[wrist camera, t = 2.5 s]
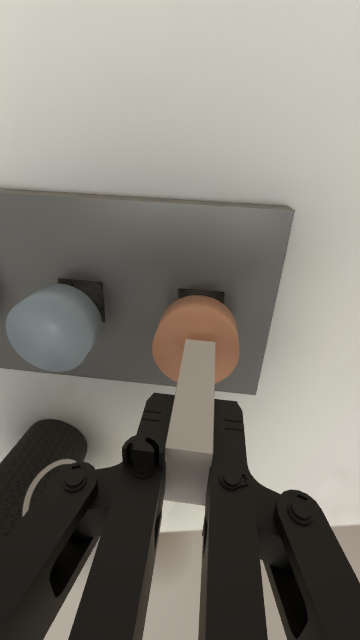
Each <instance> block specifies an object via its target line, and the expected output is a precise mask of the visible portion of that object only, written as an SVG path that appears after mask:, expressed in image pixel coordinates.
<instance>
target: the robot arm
mask: <svg viewBox="0 0 360 640" xmlns="http://www.w3.org/2000/svg"><path fill="white" fill-rule="evenodd" d="M215 344H216V342H210V341H200V340H190V339H186V341H185V346H184V352H183V357H182V362H181V367H180V373H179V378H178V383H177V388H176V394H175V395H169V394H160V393H153V395H152V396H151V397H150V398H149V399H148V400H147V402H146V405H145V408H144V412H143V415H142V418H141V421H140V425H139V428H138V431H137V435H136V436H133V437H131V438H130V439H128V440H127V441H126V442H125V444H124V445H123V447H122V457H123V462H122V463H120V464H118V465H116V466H112V467H108V468H103V469H97V470H95V468H94V467H93V466H92V465H90V464H89V463H86V462H76V463H72V464H70V465H68V466H66V467H64V468H63V469H62V470H61V471H60V472H59V473H58V474H57V475H56V476H55V477H54V479H53V480H52V481H51V482H50V484H49V485H48V486H47V487H46V489H45V490H44V491H43V492H42V494H41V495H40V496H39V497H38V499H37V500H36V501H35V502H34V504H33V505H32V506H31V507H30V509H29V510H28V511H27V512H26V514H25V515H24V516H23V517H22V519H21V520H20V521H19V522H18V524H17V525H16V526H15V527H14V529H13V530H12V531H11V532H10V534H9V535H8V536H7V537H6V538H5V540H4V541H3V542H2V543H1V545H0V640H43V639H44V637H45V635H46V633H47V631H48V630H49V628H50V626H51V624H52V622H53V621H54V619H55V617H56V615H57V613H58V612H59V610H60V608H61V606H62V604H63V603H64V601H65V599H66V597H67V595H68V593H69V592H70V590H71V588H72V586H73V584H74V583H75V581H76V579H77V577H78V575H79V574H80V572H81V570H82V568H83V566H84V564H85V563H86V561H87V559H88V557H89V555H90V554H91V552H92V549H93V548H94V546H95V545H96V543H97V541H98V539H99V537H100V536H101V537H100V540H99V543H98V547H97V550H96V553H95V556H94V559H93V563H92V566H91V569H90V572H89V575H88V578H87V582H86V585H85V588H84V591H83V595H82V598H81V601H80V604H79V607H78V610H77V613H76V617H75V620H74V623H73V626H72V629H71V633H70V636H69V639H68V640H142V637H143V631H144V625H145V618H146V612H147V606H148V600H149V593H150V587H151V581H152V575H153V568H154V562H155V555H156V550H157V543H158V537H159V531H160V525H161V518H162V505H163V499H164V500H169V501H176V502H183V503H190V504H197V505H204V506H205V518H204V525H203V532H202V536H203V551H202V572H201V593H200V614H199V637H198V640H268V638H267V627H266V617H265V607H264V597H263V586H262V576H261V566H260V559H261V560H263V562H264V565H265V569H266V572H267V575H268V578H269V582H270V585H271V588H272V591H273V594H274V597H275V601H276V604H277V608H278V611H279V614H280V617H281V621H282V624H283V627H284V630H285V634H286V637H287V640H360V583H359V581H358V579H357V577H356V575H355V573H354V571H353V569H352V567H351V565H350V563H349V561H348V560H347V558H346V556H345V554H344V552H343V550H342V548H341V546H340V544H339V542H338V540H337V538H336V536H335V535H334V533H333V531H332V529H331V527H330V525H329V523H328V521H327V519H326V517H325V515H324V513H323V511H322V509H321V508H320V507H319V505H318V504H317V502H316V501H315V500H314V499H313V498H311V497H310V496H309V495H308V494H306V493H303V492H301V491H299V490H288V491H285V492H283V493H282V494H279V493H277V492H275V491H272V490H270V489H268V488H266V487H264V486H263V485H261V484H260V483H258V482H257V481H256V480H255V479H254V478H253V476H252V475H251V473H250V471H249V469H248V465H247V457H246V446H245V435H244V424H243V412H242V410H241V408H240V406H239V405H238V403H237V401H228V400H219V399H214V386H215Z"/></svg>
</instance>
